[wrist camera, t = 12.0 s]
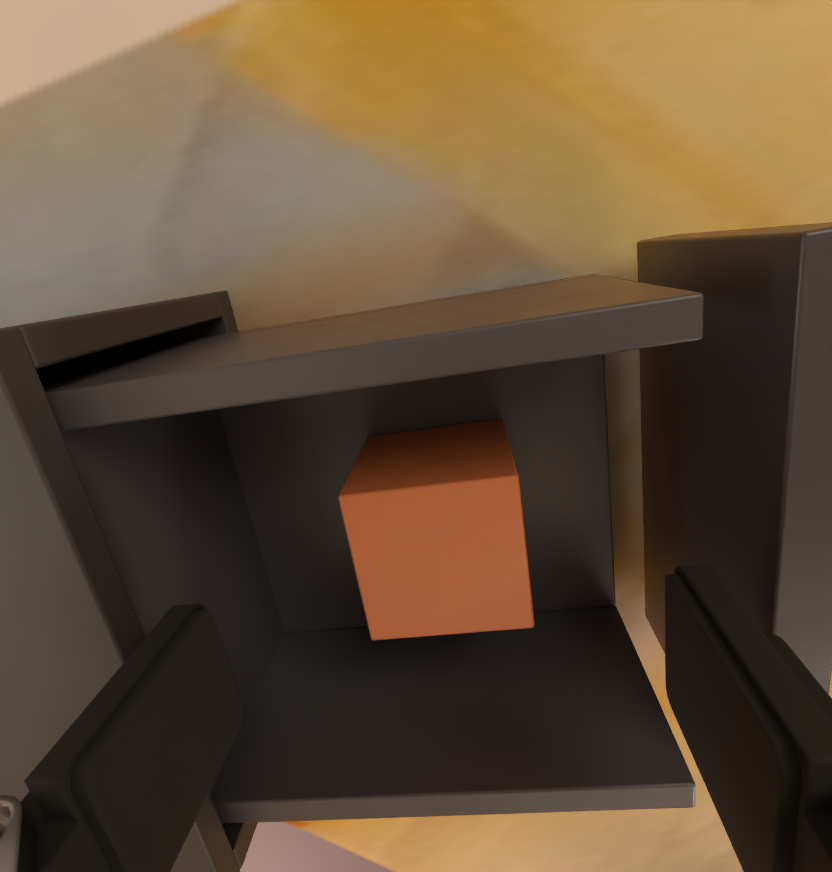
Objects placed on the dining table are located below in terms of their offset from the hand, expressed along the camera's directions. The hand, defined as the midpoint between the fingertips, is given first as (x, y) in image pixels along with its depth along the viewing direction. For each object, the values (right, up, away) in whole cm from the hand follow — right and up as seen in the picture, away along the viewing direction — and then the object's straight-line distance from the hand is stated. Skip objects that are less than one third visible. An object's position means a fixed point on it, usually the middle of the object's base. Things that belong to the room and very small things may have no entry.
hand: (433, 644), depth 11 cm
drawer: (+3, +3, +7) cm, 8 cm away
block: (+1, +2, +7) cm, 7 cm away
